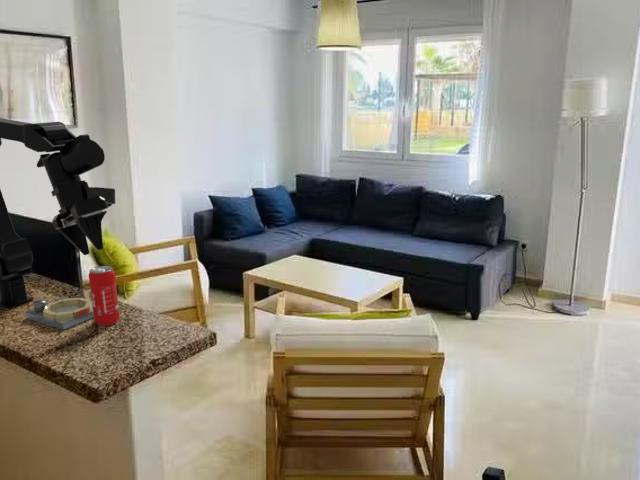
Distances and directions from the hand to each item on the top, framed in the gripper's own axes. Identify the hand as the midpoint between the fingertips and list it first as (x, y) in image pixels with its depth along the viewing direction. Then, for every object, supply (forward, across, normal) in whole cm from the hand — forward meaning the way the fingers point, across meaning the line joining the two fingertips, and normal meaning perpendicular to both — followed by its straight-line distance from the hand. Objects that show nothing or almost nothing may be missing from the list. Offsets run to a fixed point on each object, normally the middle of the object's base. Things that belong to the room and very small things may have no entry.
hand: (93, 252), depth 120 cm
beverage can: (+15, +5, +1) cm, 16 cm away
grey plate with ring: (+11, +14, +6) cm, 19 cm away
